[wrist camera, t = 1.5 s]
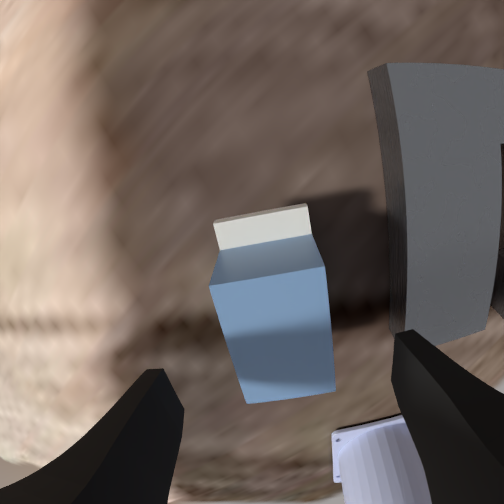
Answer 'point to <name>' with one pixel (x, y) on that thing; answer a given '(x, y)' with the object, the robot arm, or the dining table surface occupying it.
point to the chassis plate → (442, 194)
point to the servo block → (274, 304)
